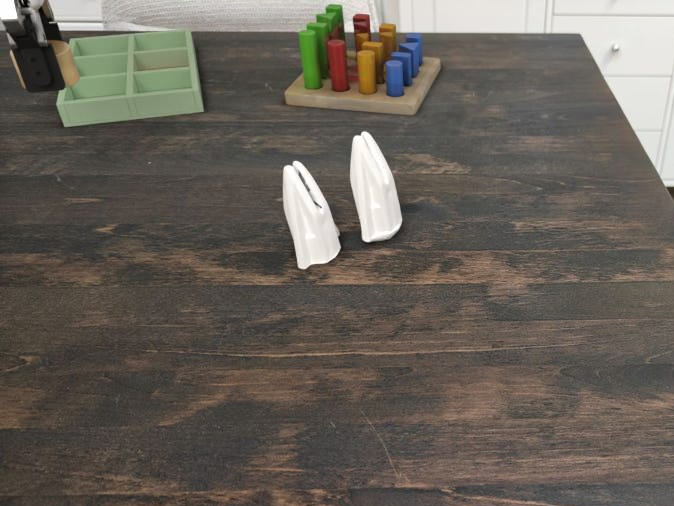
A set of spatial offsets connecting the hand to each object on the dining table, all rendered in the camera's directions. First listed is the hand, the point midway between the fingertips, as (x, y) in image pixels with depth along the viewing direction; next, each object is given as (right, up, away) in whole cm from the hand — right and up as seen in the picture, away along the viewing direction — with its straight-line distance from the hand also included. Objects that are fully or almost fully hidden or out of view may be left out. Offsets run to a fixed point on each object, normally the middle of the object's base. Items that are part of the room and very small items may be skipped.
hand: (49, 76), depth 70 cm
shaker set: (+28, -16, +3) cm, 32 cm away
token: (0, 0, 0) cm, 0 cm away
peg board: (+25, +11, +33) cm, 43 cm away
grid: (-6, +11, +31) cm, 34 cm away
